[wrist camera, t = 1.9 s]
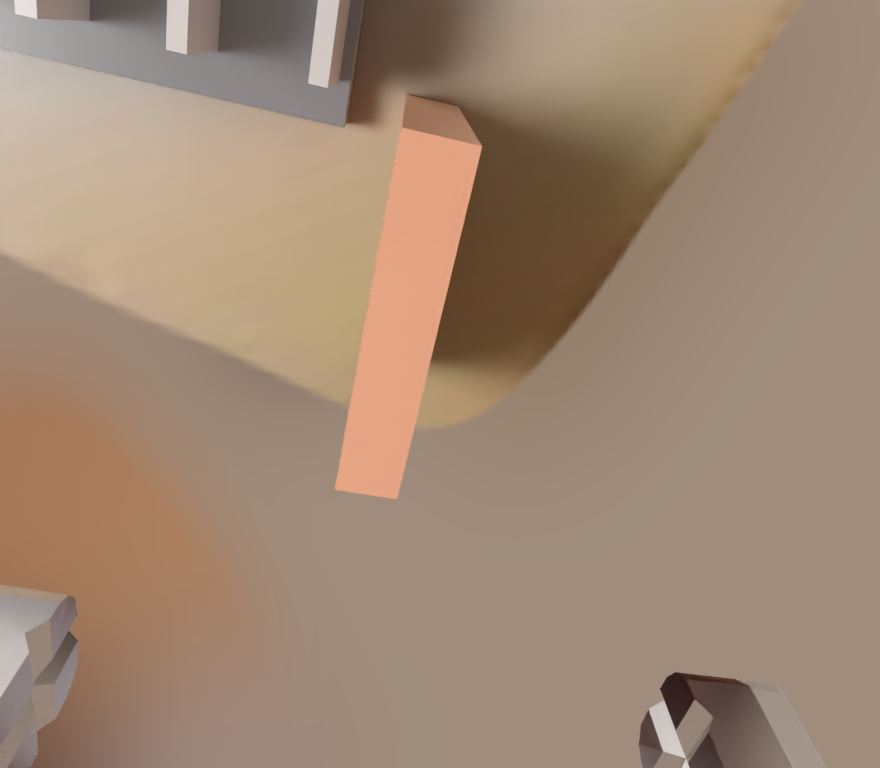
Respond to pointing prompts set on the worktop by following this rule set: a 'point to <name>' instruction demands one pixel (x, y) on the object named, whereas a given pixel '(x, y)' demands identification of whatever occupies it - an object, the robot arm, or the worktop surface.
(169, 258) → the worktop surface
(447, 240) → the plate tile
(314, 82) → the dish rack
